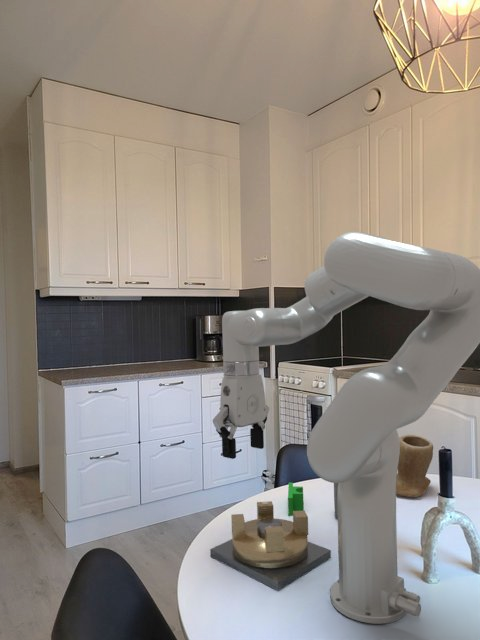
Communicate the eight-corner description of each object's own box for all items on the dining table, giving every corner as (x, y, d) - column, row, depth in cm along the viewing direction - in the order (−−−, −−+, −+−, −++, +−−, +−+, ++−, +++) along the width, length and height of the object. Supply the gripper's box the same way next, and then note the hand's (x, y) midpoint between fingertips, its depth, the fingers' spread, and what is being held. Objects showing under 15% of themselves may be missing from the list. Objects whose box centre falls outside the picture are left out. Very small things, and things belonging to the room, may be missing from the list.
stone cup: (428, 504, 120) (426, 445, 121) (381, 495, 127) (380, 439, 127) (441, 486, 133) (440, 433, 133) (398, 479, 140) (397, 428, 140)
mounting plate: (330, 557, 94) (330, 549, 94) (278, 591, 83) (277, 581, 83) (264, 530, 107) (263, 523, 107) (210, 556, 96) (210, 548, 96)
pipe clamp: (303, 517, 115) (303, 498, 115) (288, 516, 115) (287, 498, 115) (303, 499, 126) (302, 482, 126) (289, 499, 126) (288, 481, 126)
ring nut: (299, 530, 103) (298, 498, 103) (315, 565, 88) (314, 528, 88) (230, 534, 102) (229, 502, 102) (235, 570, 87) (234, 533, 87)
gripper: (226, 374, 90) (229, 465, 90) (280, 366, 104) (282, 446, 103) (199, 372, 95) (201, 459, 95) (253, 365, 109) (255, 441, 108)
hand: (243, 452), depth 99 cm, fingers open, 8 cm apart
